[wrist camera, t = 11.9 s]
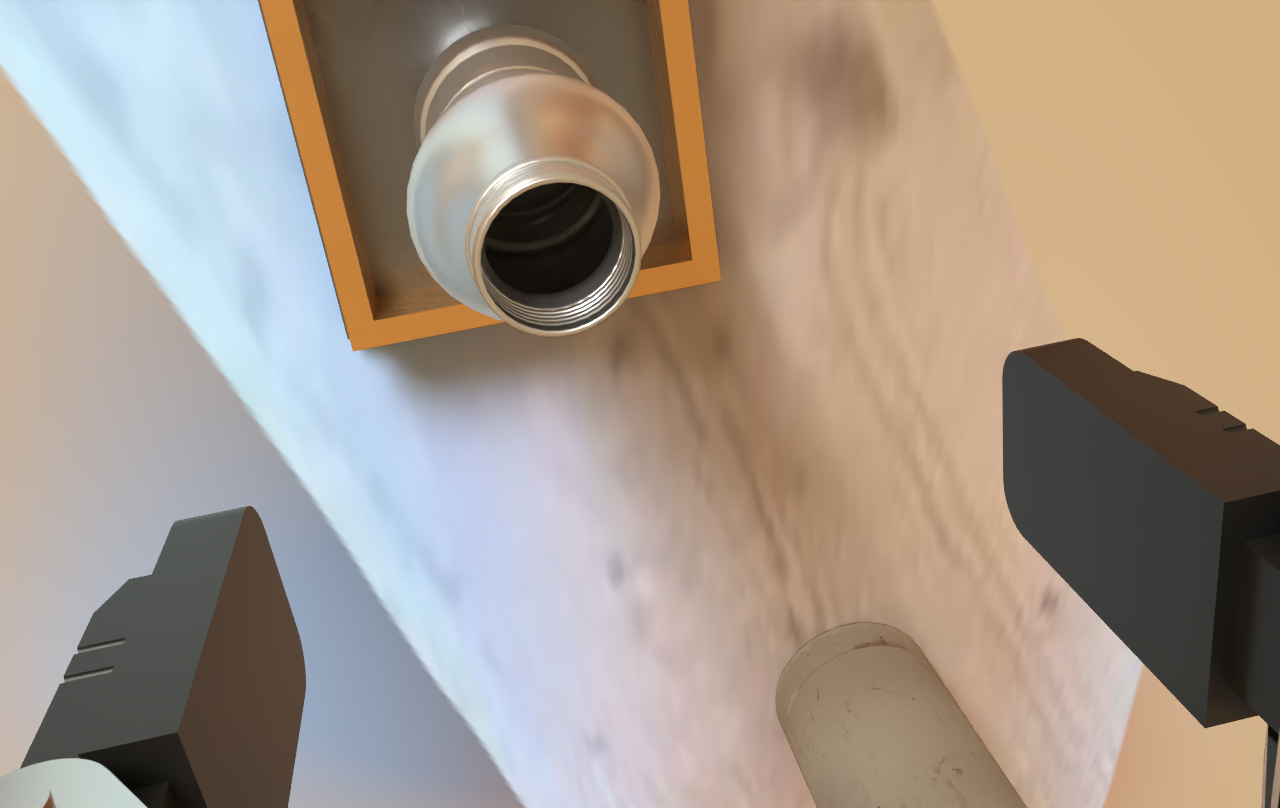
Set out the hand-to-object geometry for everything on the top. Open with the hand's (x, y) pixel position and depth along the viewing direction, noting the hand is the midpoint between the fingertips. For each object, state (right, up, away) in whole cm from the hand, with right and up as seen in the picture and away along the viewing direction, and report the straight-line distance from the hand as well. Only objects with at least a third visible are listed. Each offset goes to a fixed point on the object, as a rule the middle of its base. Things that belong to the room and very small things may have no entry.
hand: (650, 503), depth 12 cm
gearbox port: (-6, +12, +31) cm, 34 cm away
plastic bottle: (-5, +12, +31) cm, 33 cm away
